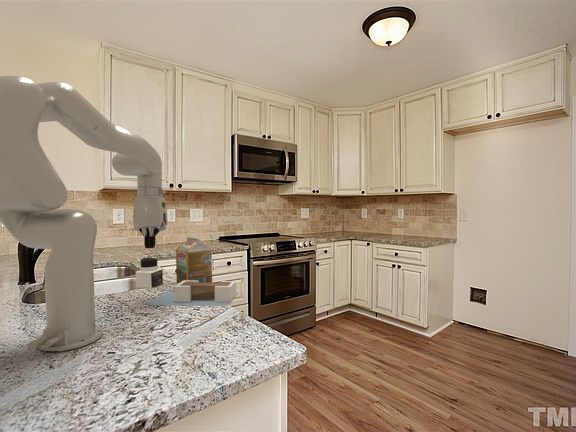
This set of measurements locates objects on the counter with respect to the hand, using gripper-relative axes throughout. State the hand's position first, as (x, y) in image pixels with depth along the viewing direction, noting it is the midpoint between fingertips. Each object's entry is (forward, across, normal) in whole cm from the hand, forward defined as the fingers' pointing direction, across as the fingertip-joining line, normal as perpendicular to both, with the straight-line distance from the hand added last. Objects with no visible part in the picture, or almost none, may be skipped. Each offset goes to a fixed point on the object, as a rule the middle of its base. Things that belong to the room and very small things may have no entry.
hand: (150, 247), depth 101 cm
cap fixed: (+17, -26, -2) cm, 31 cm away
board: (+18, -15, -2) cm, 23 cm away
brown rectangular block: (+17, -19, -1) cm, 25 cm away
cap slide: (+17, -12, -2) cm, 21 cm away
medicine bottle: (+18, +10, -18) cm, 27 cm away
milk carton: (+18, -5, -26) cm, 31 cm away
